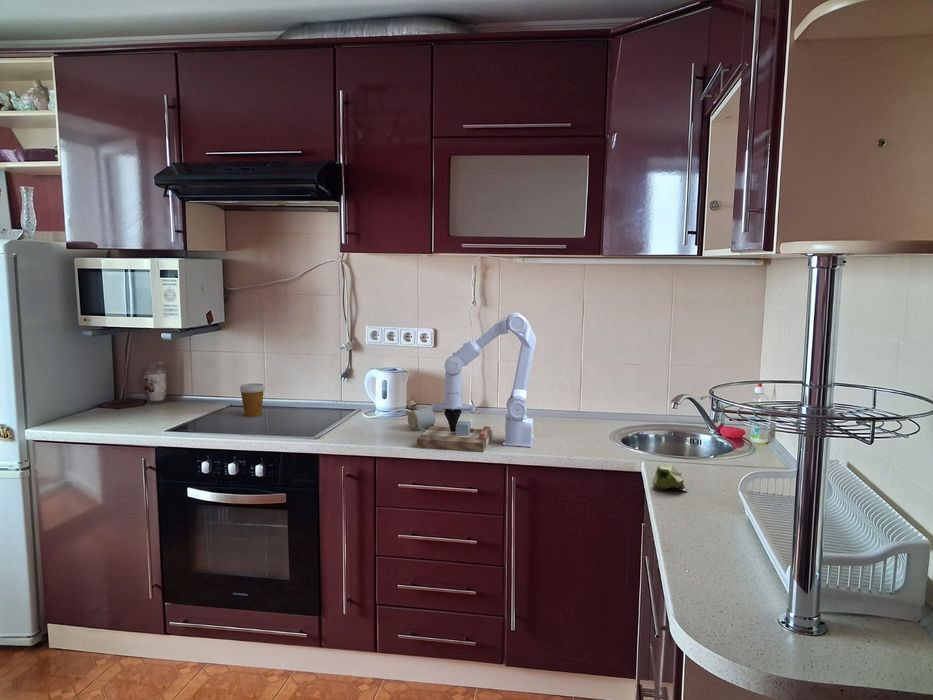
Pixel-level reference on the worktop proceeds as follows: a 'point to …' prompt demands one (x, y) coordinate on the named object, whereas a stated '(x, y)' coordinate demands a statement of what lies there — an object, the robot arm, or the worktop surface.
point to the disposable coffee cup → (252, 398)
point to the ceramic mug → (421, 419)
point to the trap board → (455, 439)
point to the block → (462, 428)
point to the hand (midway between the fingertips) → (453, 431)
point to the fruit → (667, 477)
